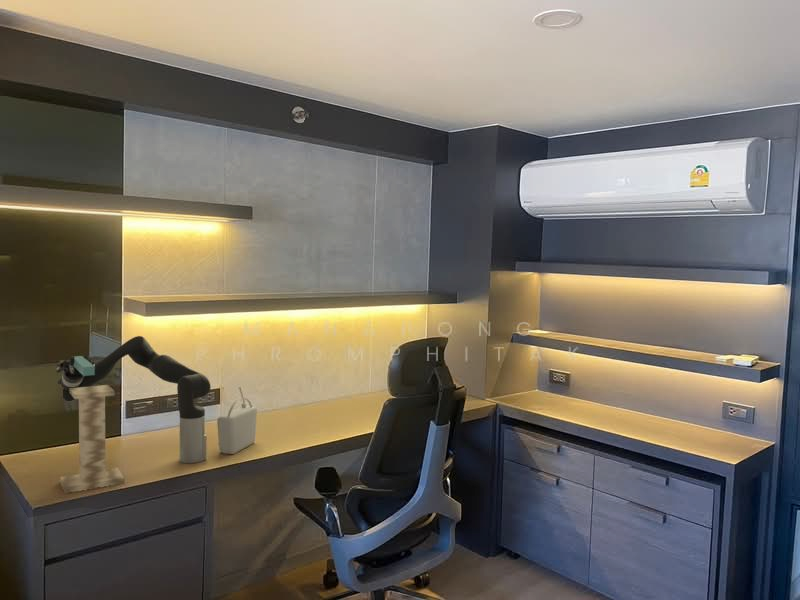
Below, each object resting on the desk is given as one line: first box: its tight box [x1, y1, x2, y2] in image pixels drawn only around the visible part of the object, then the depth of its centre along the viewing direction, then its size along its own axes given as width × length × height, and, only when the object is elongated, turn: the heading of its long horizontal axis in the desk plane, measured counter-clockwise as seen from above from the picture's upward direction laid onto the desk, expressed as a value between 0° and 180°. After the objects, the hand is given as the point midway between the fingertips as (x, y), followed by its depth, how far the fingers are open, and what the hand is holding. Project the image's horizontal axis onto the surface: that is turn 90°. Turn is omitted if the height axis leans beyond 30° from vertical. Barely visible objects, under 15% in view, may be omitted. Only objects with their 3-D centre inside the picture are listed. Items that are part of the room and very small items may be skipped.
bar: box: [73, 355, 95, 376], centre depth 219 cm, size 4×26×3 cm, turn 37°
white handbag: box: [216, 386, 258, 455], centre depth 249 cm, size 22×8×25 cm, turn 165°
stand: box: [59, 384, 125, 494], centre depth 206 cm, size 18×12×32 cm, turn 126°
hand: (79, 358), depth 225 cm, fingers closed on bar, 3 cm apart
